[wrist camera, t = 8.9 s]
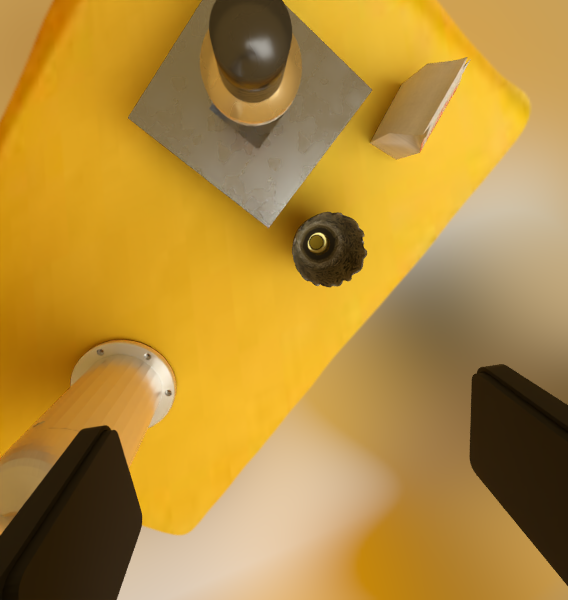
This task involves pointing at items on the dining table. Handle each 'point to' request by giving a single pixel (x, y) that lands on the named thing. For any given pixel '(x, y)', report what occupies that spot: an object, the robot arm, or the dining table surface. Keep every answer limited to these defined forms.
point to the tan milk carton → (418, 108)
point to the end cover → (250, 60)
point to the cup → (329, 249)
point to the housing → (249, 139)
